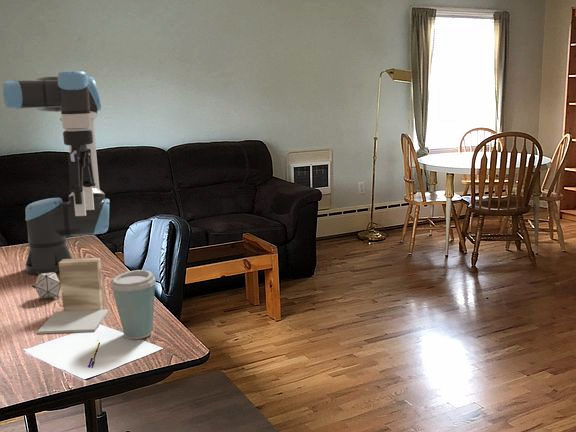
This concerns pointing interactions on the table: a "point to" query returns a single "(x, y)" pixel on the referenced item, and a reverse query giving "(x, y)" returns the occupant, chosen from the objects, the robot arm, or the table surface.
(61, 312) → the mat
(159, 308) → the table surface
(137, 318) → the disposable coffee cup
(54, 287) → the game die
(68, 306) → the wooden block
